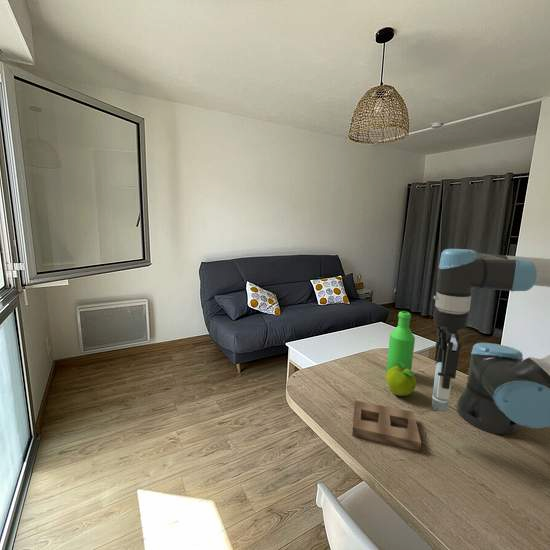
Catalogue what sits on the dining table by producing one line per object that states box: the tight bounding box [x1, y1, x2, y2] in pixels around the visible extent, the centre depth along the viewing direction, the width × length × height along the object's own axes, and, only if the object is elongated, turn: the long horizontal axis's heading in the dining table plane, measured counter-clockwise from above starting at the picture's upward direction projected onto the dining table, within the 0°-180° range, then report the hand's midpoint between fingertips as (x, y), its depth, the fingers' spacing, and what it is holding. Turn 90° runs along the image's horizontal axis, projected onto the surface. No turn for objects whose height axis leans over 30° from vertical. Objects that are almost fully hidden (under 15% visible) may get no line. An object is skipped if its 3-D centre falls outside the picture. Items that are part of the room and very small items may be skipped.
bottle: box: [386, 310, 416, 372], centre depth 111 cm, size 9×9×25 cm
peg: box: [431, 362, 449, 412], centre depth 78 cm, size 4×4×12 cm
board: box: [351, 399, 422, 452], centre depth 83 cm, size 17×13×2 cm
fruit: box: [385, 362, 417, 397], centre depth 100 cm, size 9×9×10 cm
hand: (441, 393), depth 78 cm, fingers closed on peg, 3 cm apart
